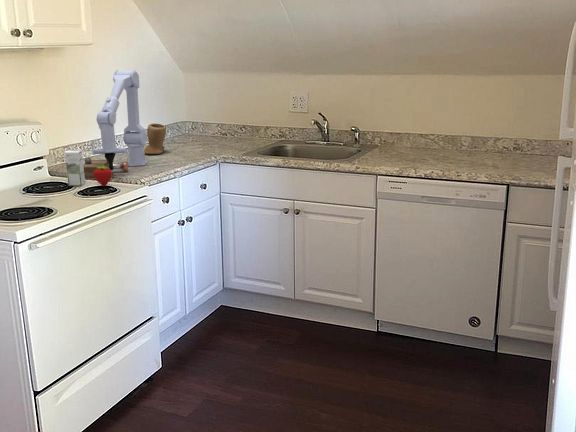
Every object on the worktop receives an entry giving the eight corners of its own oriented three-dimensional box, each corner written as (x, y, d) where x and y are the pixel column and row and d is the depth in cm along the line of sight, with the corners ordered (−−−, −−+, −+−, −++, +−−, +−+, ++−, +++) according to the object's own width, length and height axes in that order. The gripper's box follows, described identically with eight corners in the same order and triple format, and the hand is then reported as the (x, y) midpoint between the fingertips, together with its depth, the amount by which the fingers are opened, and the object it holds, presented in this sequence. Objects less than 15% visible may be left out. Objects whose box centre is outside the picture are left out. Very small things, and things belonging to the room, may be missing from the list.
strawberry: (95, 185, 267) (92, 161, 264) (113, 184, 268) (111, 160, 265) (93, 188, 261) (91, 164, 258) (113, 187, 263) (110, 163, 260)
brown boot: (166, 155, 323) (164, 125, 319) (142, 156, 323) (139, 126, 319) (170, 149, 338) (168, 121, 334) (147, 150, 337) (145, 121, 333)
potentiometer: (85, 163, 285) (84, 155, 284) (92, 162, 285) (91, 154, 284) (84, 164, 282) (83, 156, 281) (90, 164, 283) (90, 156, 281)
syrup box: (85, 182, 271) (82, 148, 267) (82, 186, 266) (78, 151, 261) (72, 182, 271) (68, 149, 267) (68, 186, 266) (63, 151, 261)
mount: (89, 170, 292) (88, 160, 291) (109, 170, 293) (108, 159, 291) (82, 178, 278) (81, 167, 276) (103, 178, 279) (102, 166, 277)
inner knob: (103, 170, 291) (102, 161, 290) (128, 169, 292) (128, 160, 290) (101, 172, 287) (100, 163, 286) (127, 171, 288) (126, 162, 287)
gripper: (89, 141, 274) (92, 172, 278) (123, 140, 275) (126, 171, 279) (92, 138, 280) (96, 169, 284) (126, 137, 281) (129, 167, 285)
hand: (111, 169), depth 282 cm, fingers closed, pressing on outer knob
